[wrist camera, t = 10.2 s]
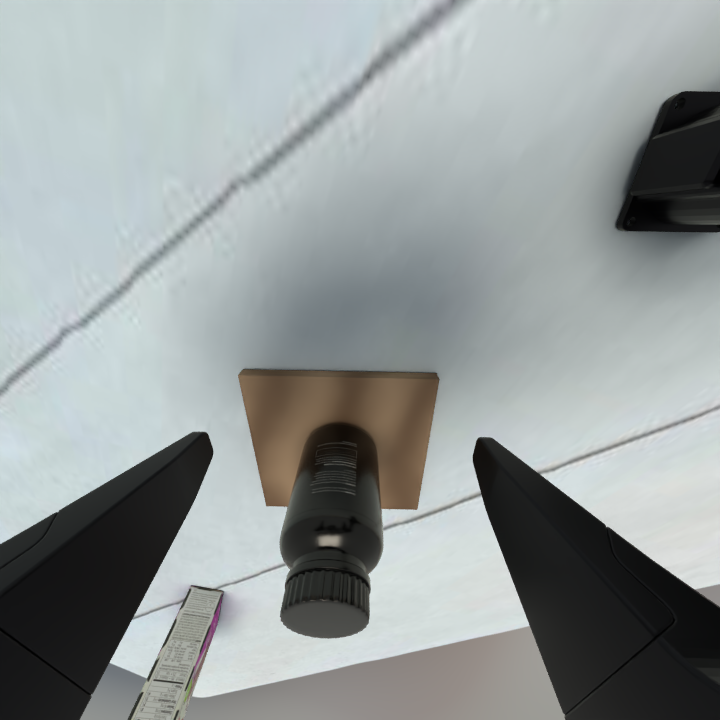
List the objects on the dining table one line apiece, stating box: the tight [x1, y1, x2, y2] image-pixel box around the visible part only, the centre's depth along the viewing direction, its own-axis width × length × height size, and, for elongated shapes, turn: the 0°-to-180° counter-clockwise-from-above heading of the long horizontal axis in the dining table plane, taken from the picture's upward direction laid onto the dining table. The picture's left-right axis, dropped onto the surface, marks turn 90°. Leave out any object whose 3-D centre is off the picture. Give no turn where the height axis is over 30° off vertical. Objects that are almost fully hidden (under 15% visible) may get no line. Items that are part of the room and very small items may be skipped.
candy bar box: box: [128, 586, 223, 720], centre depth 34 cm, size 11×5×16 cm, turn 162°
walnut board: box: [238, 369, 439, 510], centre depth 25 cm, size 16×16×1 cm
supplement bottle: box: [280, 425, 383, 638], centre depth 20 cm, size 7×7×12 cm
